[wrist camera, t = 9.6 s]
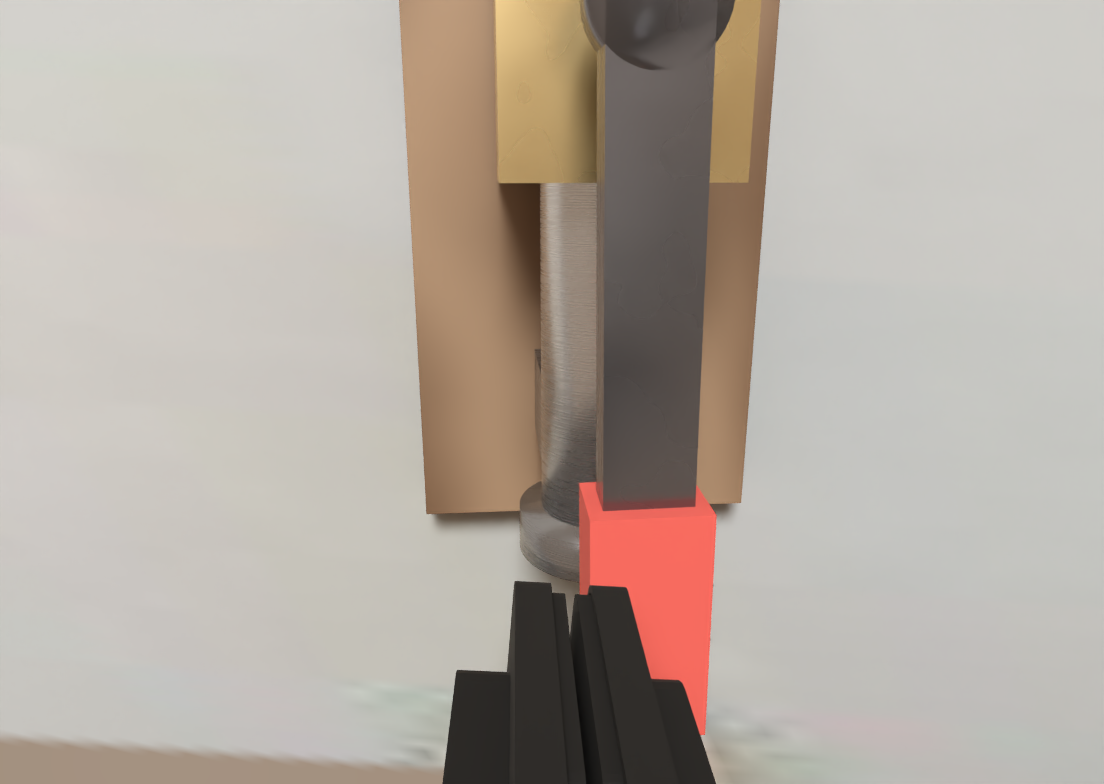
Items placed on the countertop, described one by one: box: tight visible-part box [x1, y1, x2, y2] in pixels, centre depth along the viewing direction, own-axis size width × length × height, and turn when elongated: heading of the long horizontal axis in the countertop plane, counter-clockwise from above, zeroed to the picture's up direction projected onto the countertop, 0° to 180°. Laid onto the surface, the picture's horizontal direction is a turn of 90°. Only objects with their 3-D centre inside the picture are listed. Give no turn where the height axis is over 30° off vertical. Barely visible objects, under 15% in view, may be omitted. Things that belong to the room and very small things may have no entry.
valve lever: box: [579, 0, 735, 735], centre depth 14 cm, size 15×2×2 cm, turn 1°
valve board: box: [399, 0, 780, 582], centre depth 17 cm, size 10×26×9 cm, turn 0°
